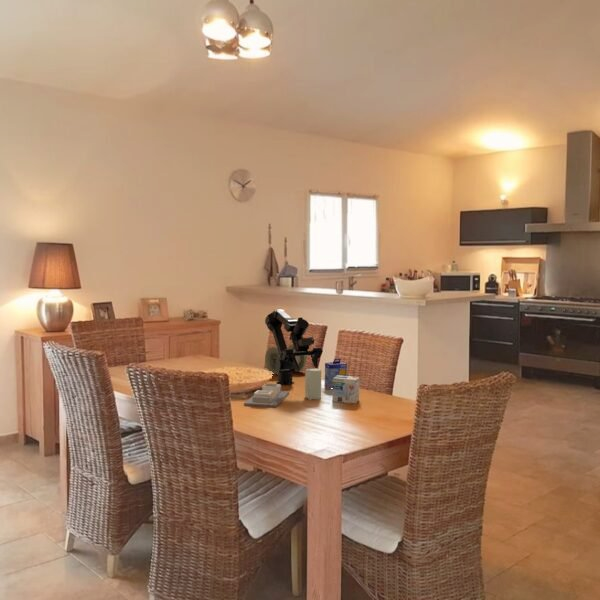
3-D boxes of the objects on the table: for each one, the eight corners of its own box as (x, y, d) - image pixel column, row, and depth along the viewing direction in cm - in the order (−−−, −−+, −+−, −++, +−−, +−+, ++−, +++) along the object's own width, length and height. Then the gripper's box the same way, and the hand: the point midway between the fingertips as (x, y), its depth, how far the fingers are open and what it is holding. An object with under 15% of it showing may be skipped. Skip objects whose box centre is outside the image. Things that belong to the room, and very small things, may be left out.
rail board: (259, 392, 295) (259, 381, 295) (289, 393, 293) (289, 382, 292) (244, 405, 270) (244, 393, 269) (276, 407, 267) (276, 395, 267)
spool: (283, 377, 331) (284, 348, 329) (265, 372, 341) (265, 345, 340) (306, 373, 342) (306, 345, 341) (287, 369, 353) (287, 342, 352)
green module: (305, 397, 286) (305, 369, 285) (316, 396, 288) (316, 368, 287) (309, 399, 281) (310, 371, 280) (320, 398, 283) (321, 370, 282)
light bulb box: (331, 401, 279) (332, 377, 278) (336, 398, 285) (337, 374, 284) (355, 404, 275) (355, 379, 274) (359, 400, 281) (360, 376, 280)
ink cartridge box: (328, 389, 302) (329, 359, 301) (323, 387, 307) (324, 358, 306) (347, 388, 306) (347, 358, 305) (341, 385, 311) (342, 356, 310)
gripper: (284, 331, 289) (293, 359, 280) (321, 330, 297) (331, 357, 287) (278, 346, 297) (286, 373, 288) (314, 344, 304) (323, 371, 295)
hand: (307, 368), depth 289 cm, fingers open, 9 cm apart
